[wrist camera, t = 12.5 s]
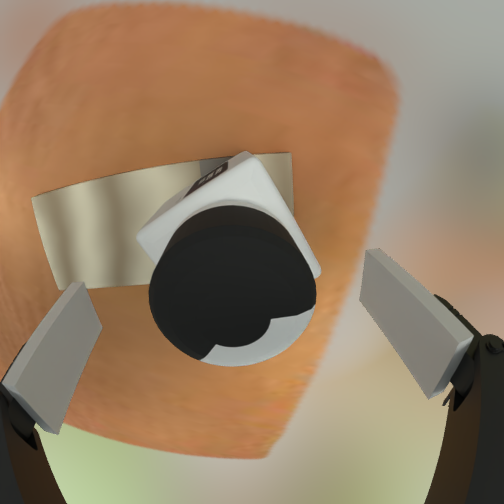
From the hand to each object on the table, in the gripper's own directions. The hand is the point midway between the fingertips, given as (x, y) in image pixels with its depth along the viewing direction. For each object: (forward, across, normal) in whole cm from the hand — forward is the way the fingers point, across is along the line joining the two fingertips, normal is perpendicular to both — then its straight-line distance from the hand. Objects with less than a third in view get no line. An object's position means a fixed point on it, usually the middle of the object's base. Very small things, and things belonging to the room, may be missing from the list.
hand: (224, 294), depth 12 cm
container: (+11, +1, 0) cm, 11 cm away
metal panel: (+12, -6, 0) cm, 14 cm away
